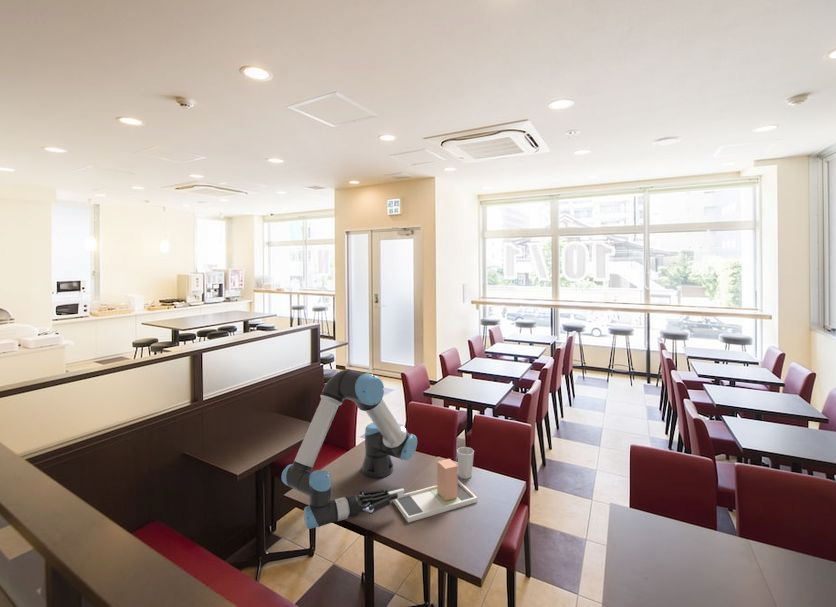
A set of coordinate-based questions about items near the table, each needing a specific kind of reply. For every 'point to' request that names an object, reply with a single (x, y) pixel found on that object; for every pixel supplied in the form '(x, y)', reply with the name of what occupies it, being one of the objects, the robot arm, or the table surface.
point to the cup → (465, 462)
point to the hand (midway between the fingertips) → (403, 492)
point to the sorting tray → (431, 502)
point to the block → (447, 479)
